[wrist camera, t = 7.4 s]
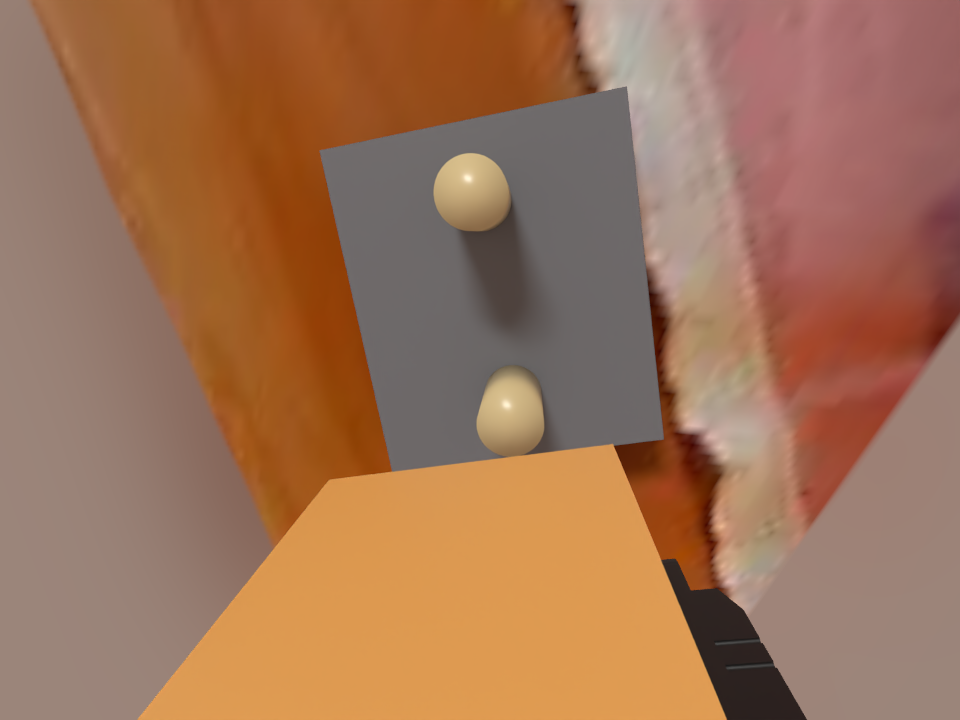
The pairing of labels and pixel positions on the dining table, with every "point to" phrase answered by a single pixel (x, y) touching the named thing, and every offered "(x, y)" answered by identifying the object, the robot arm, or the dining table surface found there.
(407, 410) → the mounting plate
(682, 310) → the dining table surface
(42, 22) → the dining table surface
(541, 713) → the orange wooden cube
